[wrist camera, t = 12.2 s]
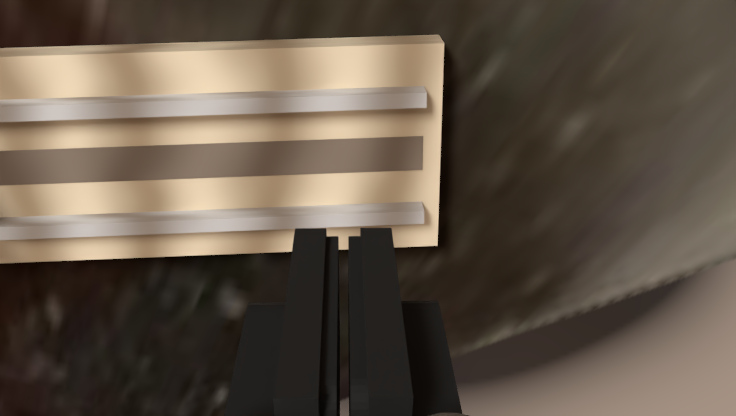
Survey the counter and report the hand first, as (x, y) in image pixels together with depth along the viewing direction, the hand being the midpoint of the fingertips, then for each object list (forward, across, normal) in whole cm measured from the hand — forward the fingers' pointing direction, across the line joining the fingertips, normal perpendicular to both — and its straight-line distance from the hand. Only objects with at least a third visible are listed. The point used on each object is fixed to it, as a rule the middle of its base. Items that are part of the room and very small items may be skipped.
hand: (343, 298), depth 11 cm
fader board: (+25, +12, +8) cm, 29 cm away
